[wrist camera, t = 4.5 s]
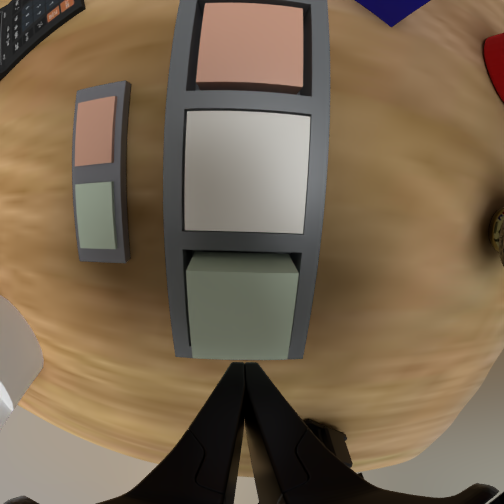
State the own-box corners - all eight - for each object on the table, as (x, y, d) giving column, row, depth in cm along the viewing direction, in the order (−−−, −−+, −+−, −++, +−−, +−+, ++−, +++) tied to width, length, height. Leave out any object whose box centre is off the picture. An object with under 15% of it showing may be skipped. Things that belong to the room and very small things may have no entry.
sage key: (280, 331, 14) (287, 359, 12) (198, 329, 14) (192, 358, 12) (288, 253, 13) (298, 273, 11) (195, 251, 13) (186, 270, 10)
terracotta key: (292, 99, 12) (302, 86, 10) (203, 95, 12) (195, 82, 9) (293, 29, 11) (302, 8, 8) (209, 25, 10) (205, 3, 8)
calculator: (87, 10, 10) (67, -7, 7) (-17, 105, 10) (-41, 104, 8) (77, -44, 7) (63, -59, 4) (-17, 37, 7) (-35, 32, 5)
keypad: (298, 333, 17) (308, 363, 14) (178, 331, 16) (169, 361, 14) (318, 17, 11) (334, -7, 8) (185, 10, 10) (175, -16, 7)
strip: (130, 258, 15) (123, 265, 14) (86, 256, 15) (77, 262, 14) (131, 84, 12) (123, 79, 11) (83, 93, 11) (74, 89, 10)
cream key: (291, 220, 12) (302, 233, 10) (194, 217, 12) (184, 230, 10) (296, 125, 11) (310, 116, 9) (197, 121, 11) (187, 111, 9)
